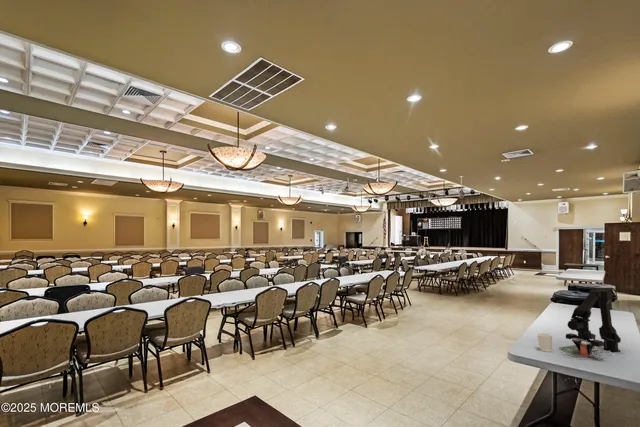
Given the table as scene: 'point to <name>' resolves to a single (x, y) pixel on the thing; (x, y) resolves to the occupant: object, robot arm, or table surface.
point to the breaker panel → (577, 348)
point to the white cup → (545, 342)
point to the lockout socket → (569, 350)
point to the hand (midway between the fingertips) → (584, 353)
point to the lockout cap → (584, 350)
